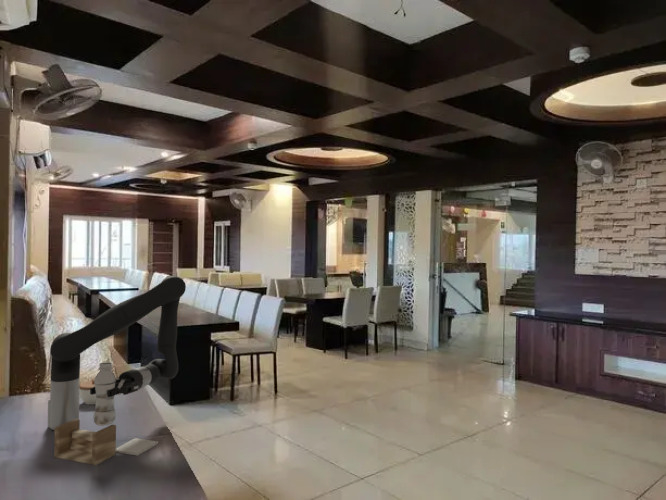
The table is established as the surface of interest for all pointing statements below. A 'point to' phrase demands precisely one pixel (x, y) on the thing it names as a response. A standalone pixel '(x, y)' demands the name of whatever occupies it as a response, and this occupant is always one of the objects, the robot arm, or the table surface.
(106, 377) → the plastic bottle
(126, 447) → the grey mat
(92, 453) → the offcut rack
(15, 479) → the table surface
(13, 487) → the table surface
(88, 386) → the lidded jar
